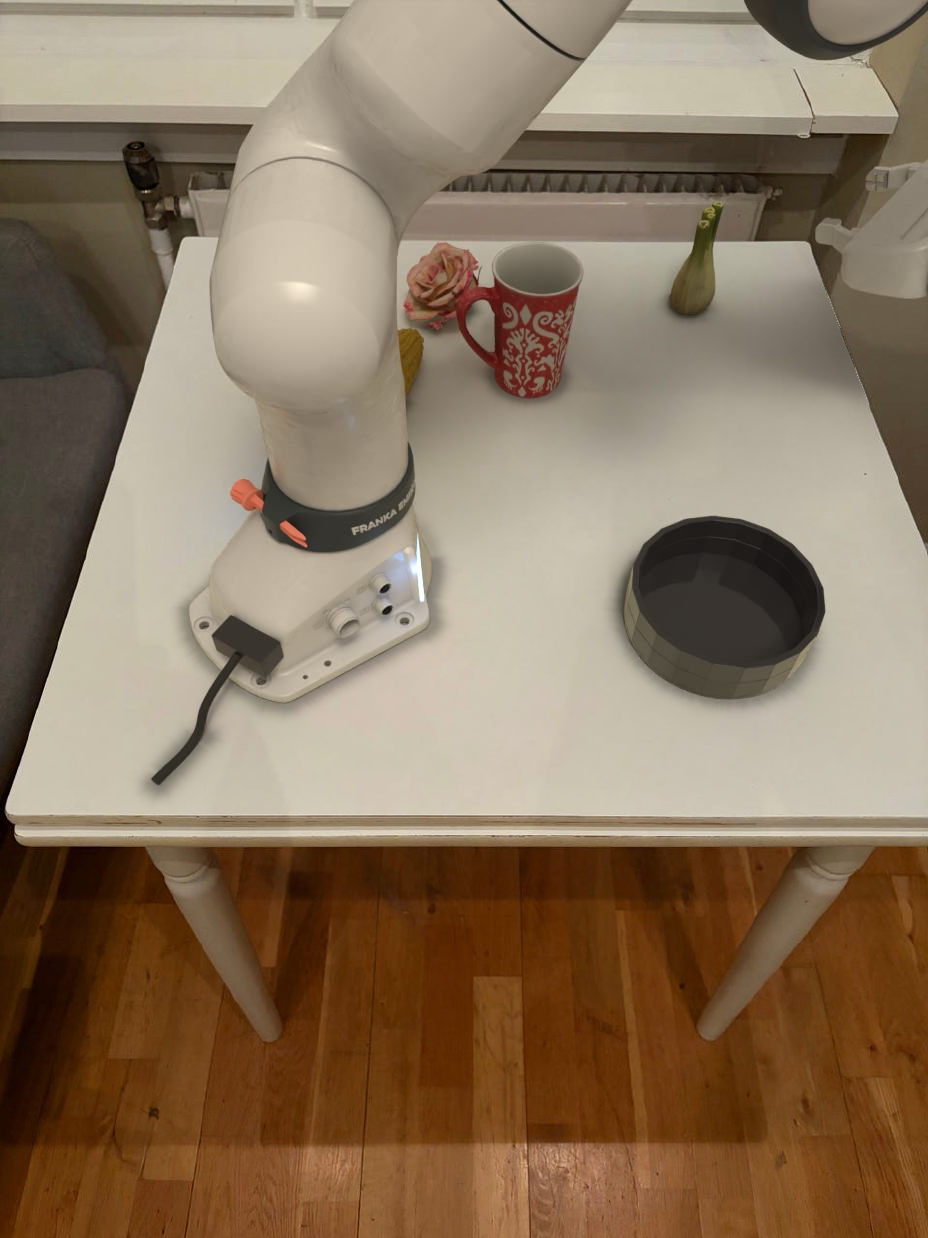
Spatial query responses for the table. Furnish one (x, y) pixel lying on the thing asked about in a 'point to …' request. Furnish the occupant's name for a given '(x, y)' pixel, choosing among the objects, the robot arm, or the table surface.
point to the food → (410, 354)
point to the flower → (440, 283)
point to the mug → (527, 315)
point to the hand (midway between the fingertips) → (844, 203)
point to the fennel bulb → (698, 267)
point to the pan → (722, 607)
